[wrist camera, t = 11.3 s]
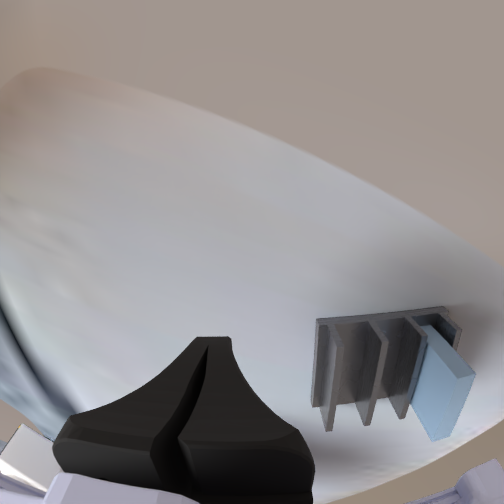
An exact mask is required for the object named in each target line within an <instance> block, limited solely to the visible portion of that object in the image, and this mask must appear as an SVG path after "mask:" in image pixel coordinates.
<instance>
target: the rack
mask: <svg viewBox="0 0 504 504" xmlns="http://www.w3.org/2000/svg"><path fill="white" fill-rule="evenodd" d="M448 312H449V311H448V310H447V309H445V308H444V307H443V306H441V307H433V308H425V309H417V310H409V311H400V312H391V313H381V314H371V315H360V316H348V317H336V318H322V319H316V333H315V350H314V364H313V378H312V390H311V404H312V407H320V411H321V415H322V419H323V423H324V427H325V431H326V432H327V431H332V429H333V423H334V417H335V411H336V405H339V404H347V403H354V402H355V404H356V407H357V409H358V412H359V414H360V417H361V419H362V422H363V425H364V426H368V425H370V423H371V420H372V416H373V412H374V408H375V404H376V400H377V399H380V398H386V397H388V398H389V400H390V402H391V404H392V406H393V408H394V410H395V412H396V414H397V416H398V418H399V419H403V418H405V416H406V413H407V410H408V407H409V404H410V401H411V398H412V394H413V391H414V388H415V384H416V381H417V378H418V374H419V370H420V367H421V363H422V359H423V355H424V351H425V347H426V343H427V338H428V335H427V334H426V333H425V332H424V330H423V329H422V328H421V327H420V326H427V325H431V326H432V327H433V328H434V329H435V330H436V331H437V332H438V333H439V334H440V335H441V336H442V337H443V338H444V339H445V340H446V341H447V342H448V344H449V345H450V346H451V347H452V348H453V349H454V350H455V351H456V350H457V346H458V342H459V339H460V335H461V331H462V329H461V328H460V327H459V326H458V325H457V324H455V323H454V322H453V321H452V320H451V319H450V318H449V317H448Z"/></svg>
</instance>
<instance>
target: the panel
mask: <svg viewBox="0 0 504 504" xmlns="http://www.w3.org/2000/svg"><path fill="white" fill-rule="evenodd" d="M420 327H421V328H422V329H423V330H424V332H425V333H426V334H427V335H428V338H427V343H426V347H425V351H424V355H423V359H422V363H421V367H420V370H419V374H418V378H417V381H416V384H415V388H414V391H413V394H412V398H411V401H410V404H411V406H412V407H413V409H414V411H415V413H416V414H417V416H418V418H419V420H420V421H421V423H422V425H423V427H424V429H425V430H426V432H427V434H428V436H429V438H430V439H431V441H432V442H434V441H437V440H440V439H443V438H446V437H449V436H450V434H451V432H452V430H453V428H454V426H455V424H456V422H457V420H458V417H459V415H460V413H461V411H462V408H463V406H464V403H465V401H466V399H467V396H468V394H469V391H470V389H471V386H472V383H473V381H474V378H475V375H476V373H475V372H474V371H473V370H472V368H471V367H470V366H469V365H468V364H467V363H466V362H465V361H464V360H463V359H462V357H461V356H460V355H459V354H458V353H457V352H456V351H455V350H454V349H453V348H452V347H451V346H450V345H449V344H448V342H447V341H446V340H445V339H444V338H443V337H442V336H441V335H440V334H439V333H438V332H437V331H436V330H435V329H434V328H433V327H432V326H431V325H427V326H420Z"/></svg>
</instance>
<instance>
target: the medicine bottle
mask: <svg viewBox="0 0 504 504" xmlns="http://www.w3.org/2000/svg"><path fill="white" fill-rule="evenodd" d="M53 443H54V442H52V441H50V440H49V439H47V438H45V437H44V436H42V435H40V434H39V433H37V432H36V431H34V430H32V429H31V428H29V427H28V426H26V425H25V424H21V425H20V426H19V427H18V429H17V430H16V432H15V433H14V434H13V436H12V437H11V439H10V440H9V442H8V443H7V445H6V446H5V448H4V449H3V450H2V452H1V453H0V469H1V473H2V474H4V475H7V476H9V477H11V478H13V479H15V480H18V481H20V482H22V483H25V484H27V485H30V486H32V487H35V488H37V489H40V490H42V491H45V492H47V491H48V489H49V487H50V485H51V483H52V481H53V479H54V477H55V476H56V475H58V474H59V473H63V472H64V471H63V470H62V468H61V467H60V466H59V464H58V463H57V461H56V459H55V457H54V455H53V451H52V446H53Z"/></svg>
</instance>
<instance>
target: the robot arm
mask: <svg viewBox="0 0 504 504" xmlns="http://www.w3.org/2000/svg"><path fill="white" fill-rule="evenodd" d="M52 451H53V455H54V457H55V459H56V461H57V463H58V464H59V466H60V467H61V468H62V470H63V471H64V472H63V473H59V474H58V475H56V476H55V477H54V479H53V481H52V483H51V485H50V487H49V489H48V491H47V492H45V491H42V490H40V489H37V488H35V487H32V486H30V485H27V484H25V483H22V482H20V481H18V480H15V479H13V478H11V477H9V476H7V475H4V474H2V473H0V504H313V496H312V485H313V480H314V475H315V465H314V461H313V458H312V455H311V452H310V450H309V448H308V446H307V444H306V442H305V440H304V438H303V437H302V435H301V433H300V431H299V430H298V429H296V428H295V427H293V426H292V425H290V424H288V423H287V422H285V421H284V420H282V419H281V418H280V417H279V416H278V415H276V414H275V413H274V412H273V411H272V410H271V409H270V408H269V407H268V406H267V405H266V404H265V403H264V402H263V401H262V400H261V399H260V398H259V397H258V396H257V395H256V393H255V392H254V391H253V390H252V388H251V387H250V385H249V384H248V382H247V381H246V379H245V378H244V376H243V374H242V372H241V371H240V369H239V367H238V364H237V362H236V360H235V357H234V355H233V351H232V341H231V338H229V337H228V336H227V337H196V338H195V339H194V340H193V341H192V342H191V343H190V344H189V345H188V347H187V348H186V349H185V350H184V351H183V352H182V353H181V354H180V355H179V356H178V357H177V358H176V359H175V360H174V361H173V362H172V363H171V364H170V365H169V366H168V367H167V368H165V369H164V370H163V371H162V372H161V373H160V374H159V375H157V376H156V377H155V378H153V379H152V380H151V381H149V382H148V383H146V384H145V385H143V386H142V387H140V388H139V389H137V390H135V391H133V392H132V393H130V394H128V395H126V396H124V397H122V398H121V399H118V400H116V401H114V402H112V403H109V404H107V405H104V406H102V407H99V408H96V409H93V410H90V411H86V412H83V413H79V414H75V415H71V416H70V417H69V418H68V419H67V421H66V423H65V424H64V426H63V428H62V429H61V431H60V433H59V434H58V436H57V438H56V439H55V441H54V443H53V446H52ZM405 504H504V470H503V468H502V467H501V465H500V464H499V462H498V461H497V459H496V458H495V459H492V460H489V461H487V462H485V463H483V464H481V465H478V466H476V467H474V468H472V469H470V470H468V471H467V472H465V473H464V474H463V475H462V476H461V477H460V478H459V480H458V482H457V483H456V485H455V486H454V487H452V488H449V489H446V490H444V491H441V492H439V493H435V494H433V495H430V496H427V497H424V498H421V499H418V500H414V501H411V502H408V503H405Z"/></svg>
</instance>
